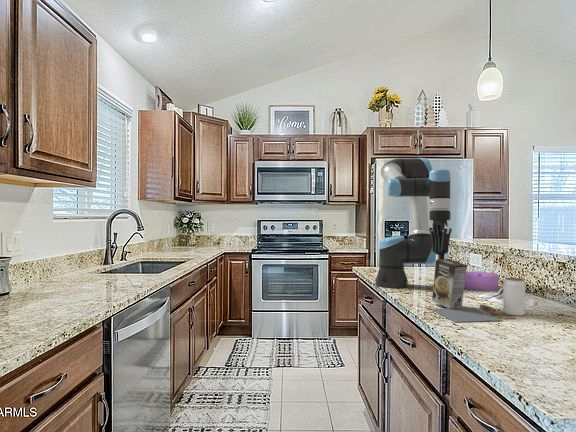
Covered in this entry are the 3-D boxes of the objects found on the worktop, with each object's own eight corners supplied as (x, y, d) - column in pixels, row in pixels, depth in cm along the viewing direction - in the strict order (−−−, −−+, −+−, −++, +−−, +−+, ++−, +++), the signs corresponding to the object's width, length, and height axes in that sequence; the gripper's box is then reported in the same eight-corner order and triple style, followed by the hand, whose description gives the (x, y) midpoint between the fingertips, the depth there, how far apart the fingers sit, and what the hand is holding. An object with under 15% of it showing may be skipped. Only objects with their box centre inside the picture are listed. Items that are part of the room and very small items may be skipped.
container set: (488, 284, 184) (488, 257, 184) (505, 291, 169) (505, 261, 169) (436, 284, 186) (436, 257, 185) (447, 290, 170) (448, 261, 170)
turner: (477, 307, 139) (477, 304, 139) (486, 307, 139) (486, 304, 139) (504, 319, 124) (504, 316, 124) (514, 319, 124) (514, 315, 124)
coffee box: (430, 300, 144) (435, 259, 142) (443, 299, 146) (448, 258, 144) (449, 309, 136) (454, 265, 133) (462, 307, 138) (467, 264, 136)
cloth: (547, 307, 142) (547, 291, 142) (497, 307, 142) (497, 290, 142) (512, 294, 164) (513, 280, 164) (469, 294, 164) (469, 280, 164)
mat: (431, 309, 136) (431, 308, 136) (473, 308, 138) (473, 307, 138) (455, 322, 120) (455, 321, 120) (502, 321, 122) (502, 320, 122)
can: (505, 310, 135) (505, 276, 135) (526, 313, 131) (526, 278, 131) (501, 314, 130) (501, 279, 130) (523, 317, 126) (523, 281, 126)
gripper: (422, 210, 152) (423, 269, 152) (438, 209, 139) (439, 273, 139) (440, 210, 153) (441, 269, 153) (458, 209, 140) (458, 273, 140)
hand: (440, 271), depth 146 cm, fingers closed
